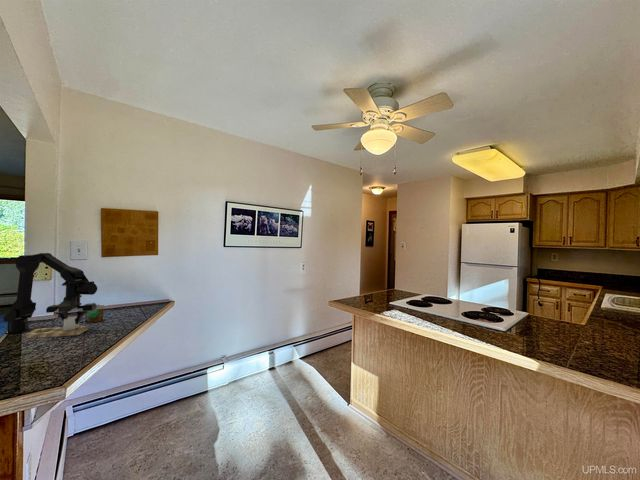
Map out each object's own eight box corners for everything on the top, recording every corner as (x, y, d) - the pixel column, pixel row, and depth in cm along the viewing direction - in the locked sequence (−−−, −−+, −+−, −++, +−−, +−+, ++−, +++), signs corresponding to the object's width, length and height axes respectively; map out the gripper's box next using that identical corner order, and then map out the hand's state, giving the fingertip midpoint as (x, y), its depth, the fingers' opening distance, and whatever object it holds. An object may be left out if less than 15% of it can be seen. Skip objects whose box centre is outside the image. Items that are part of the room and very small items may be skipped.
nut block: (63, 331, 135) (63, 319, 135) (68, 328, 139) (68, 317, 139) (74, 330, 136) (74, 318, 136) (79, 327, 140) (79, 316, 141)
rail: (24, 338, 128) (25, 334, 128) (37, 332, 137) (37, 328, 137) (78, 334, 135) (78, 330, 135) (87, 329, 143) (87, 325, 143)
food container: (81, 321, 158) (81, 304, 158) (93, 319, 163) (94, 302, 163) (91, 324, 152) (91, 307, 152) (103, 322, 157) (104, 305, 158)
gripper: (39, 297, 127) (37, 330, 127) (87, 296, 133) (85, 327, 133) (54, 293, 138) (52, 324, 138) (97, 292, 144) (96, 321, 144)
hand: (71, 324), depth 138 cm, fingers closed on nut block, 5 cm apart
